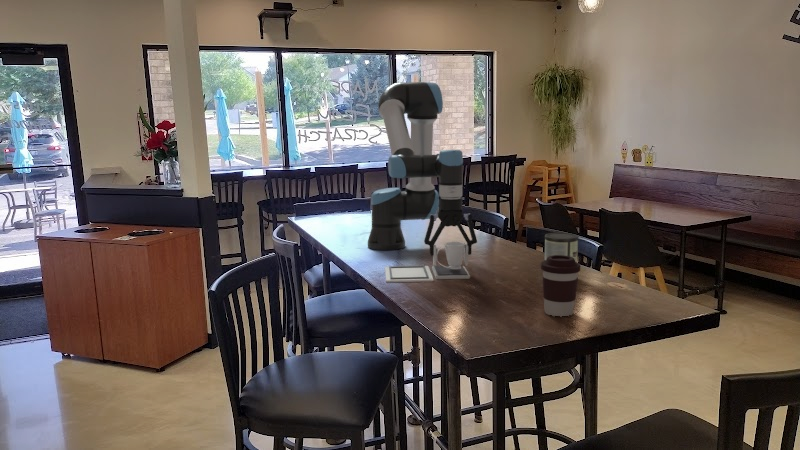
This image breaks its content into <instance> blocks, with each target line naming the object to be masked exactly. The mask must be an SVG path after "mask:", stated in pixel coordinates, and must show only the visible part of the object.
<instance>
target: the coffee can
mask: <svg viewBox="0 0 800 450" xmlns="http://www.w3.org/2000/svg"><path fill="white" fill-rule="evenodd" d="M578 242H579V235H577V234H574V233H570V232H550V233H549V232H548V233H545V235H544V261H546V259H547V257H549V256H552V255H565V256H570V257H573V258H574V259H575V262H577V263H578V251H579V250H578V248H579V246H578V245H579V243H578Z"/></svg>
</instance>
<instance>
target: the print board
mask: <svg viewBox="0 0 800 450" xmlns="http://www.w3.org/2000/svg"><path fill="white" fill-rule="evenodd" d="M384 273H385V282H386V283H415V282H416V283H417V282H419V283H420V282H424V283H425V282H434V278H433V277H434V276H433V274H432V271H431V269H430V266H429V265H406V266H405V265H404V266H403V265H398V266H395V265H393V266H384Z"/></svg>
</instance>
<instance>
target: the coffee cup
mask: <svg viewBox="0 0 800 450" xmlns="http://www.w3.org/2000/svg"><path fill="white" fill-rule="evenodd" d="M540 269H541V270H542V271H543V272H542V298H543V304H544V313H545V314H546V315H548V316H550V315H552V316H551V317H555V316H560V317H559V318H563V317H562V316H568V317H570V316H569V315H571V316H572V315H573V314H574V310H575V309H574V308H575V300H576V298H577V290H578V283H579V282H578V281H579V279H578V273H580V272H581V264H580V263H579V262H578V261H577V262H575V259H574V258H573V257H570V256H565V255H552V256H549V257H547V259H546V261H545V260H543V261H541V263H540Z"/></svg>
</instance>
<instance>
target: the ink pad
mask: <svg viewBox="0 0 800 450" xmlns="http://www.w3.org/2000/svg"><path fill="white" fill-rule="evenodd" d="M443 266H444V265H443ZM443 266H442V265H436V266H434V265H432V266H431V272H432V273H433V275H434V276H433V277H434V278H435V280H462V279H463V280H464V279H467V280H469V279H471V275H470V273H469V271H468V270H467V268H466V267H465V266H464V265H462V264H461V265H460V266H462V267H461V269H450V268H445V267H443ZM445 266H446V267H449V266H450V265H445Z"/></svg>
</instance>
